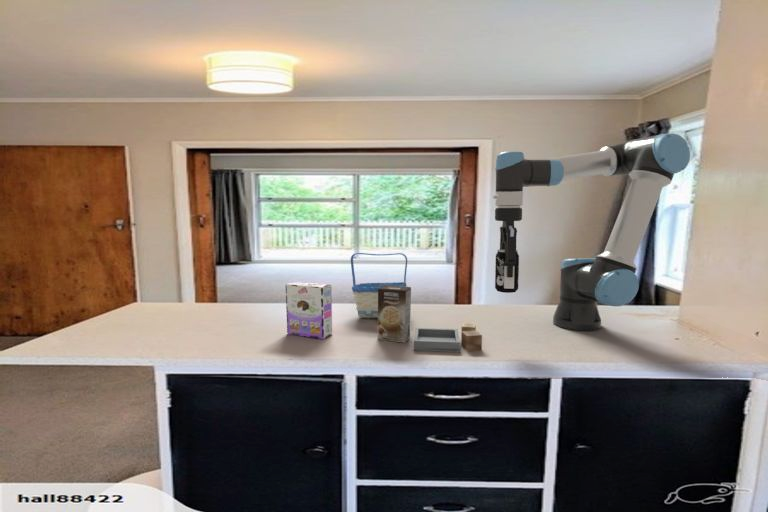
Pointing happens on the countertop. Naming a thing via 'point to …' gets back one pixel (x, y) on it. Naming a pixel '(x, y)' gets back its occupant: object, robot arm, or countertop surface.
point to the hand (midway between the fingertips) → (506, 285)
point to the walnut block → (471, 340)
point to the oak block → (468, 327)
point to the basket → (370, 292)
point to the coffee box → (394, 313)
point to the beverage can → (500, 272)
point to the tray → (436, 340)
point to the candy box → (309, 309)
